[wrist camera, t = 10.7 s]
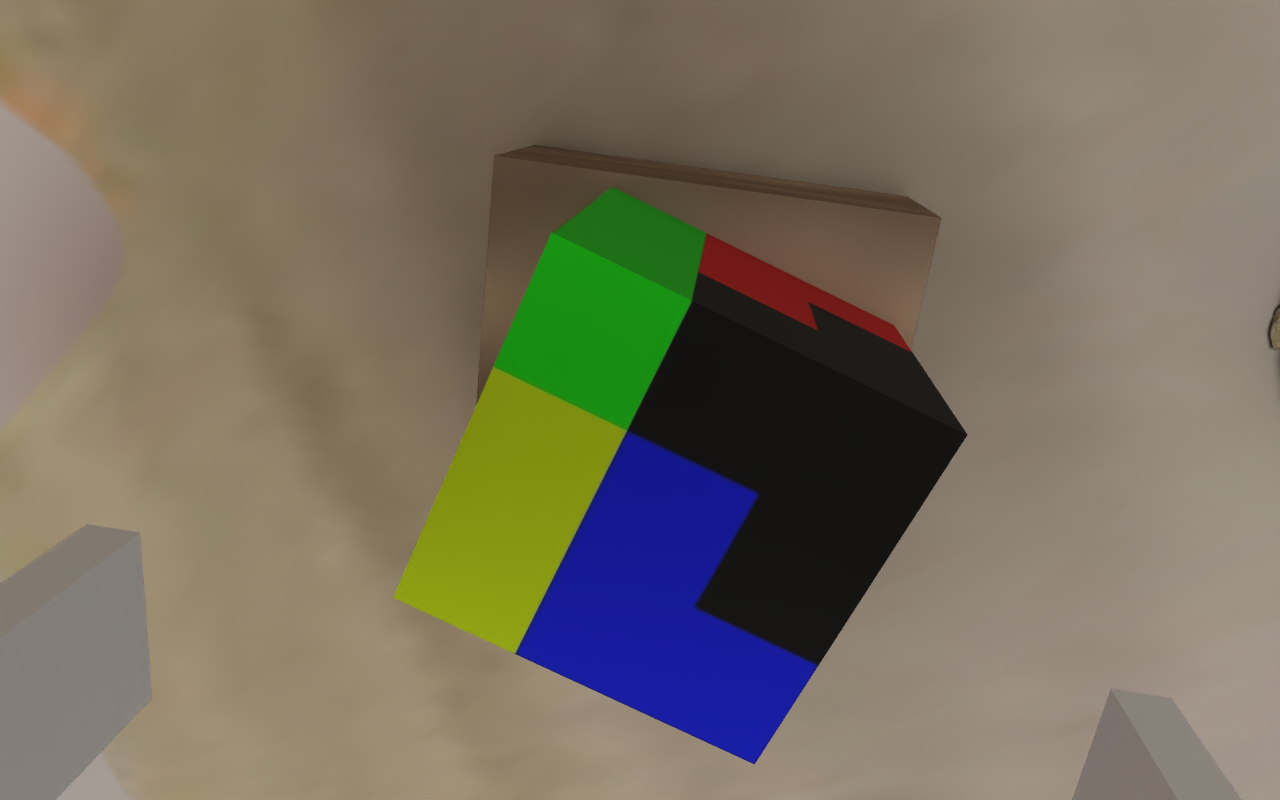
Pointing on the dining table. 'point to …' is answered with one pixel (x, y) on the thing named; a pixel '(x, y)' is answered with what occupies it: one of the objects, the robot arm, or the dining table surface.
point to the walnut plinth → (711, 230)
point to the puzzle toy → (679, 475)
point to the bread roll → (1275, 330)
